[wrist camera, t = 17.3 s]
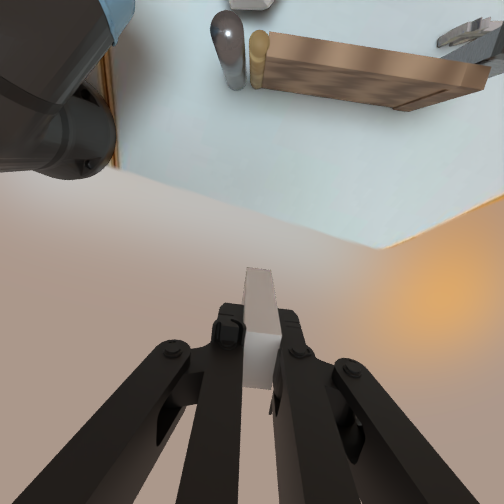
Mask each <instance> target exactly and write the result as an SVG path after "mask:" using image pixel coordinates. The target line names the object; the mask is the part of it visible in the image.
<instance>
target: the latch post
mask: <svg viewBox="0 0 504 504" xmlns="http://www.w3.org/2000/svg"><path fill="white" fill-rule="evenodd" d="M440 59H446V60H453V61H459V62H465V63H472V64H478V65H484V66H490V67H491V70H490V73H489V76H488V78H490V77H493V76H496V75H499V74H502V73H504V21H503V23H502V26H500V27H498V28H496V29H495V30H493V31H491V32H489V33H487V34H485V35H483V36H481V37H479V38H478V39H476V40H474V41H472V42H470V43H468V44H466V45H464V46H462V47H461V48H459V49H457V50H455V51H453V52H451V53H449V54H447V55H445V56H443V57H442V58H440Z"/></svg>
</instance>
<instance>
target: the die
mask: <svg viewBox="0 0 504 504" xmlns="http://www.w3.org/2000/svg"><path fill="white" fill-rule="evenodd" d="M228 1H229V4H230V7H231V9H240V10H264V9H267V8H269V7H270V6H271V4H272V3H273V2H274V0H228Z"/></svg>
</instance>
